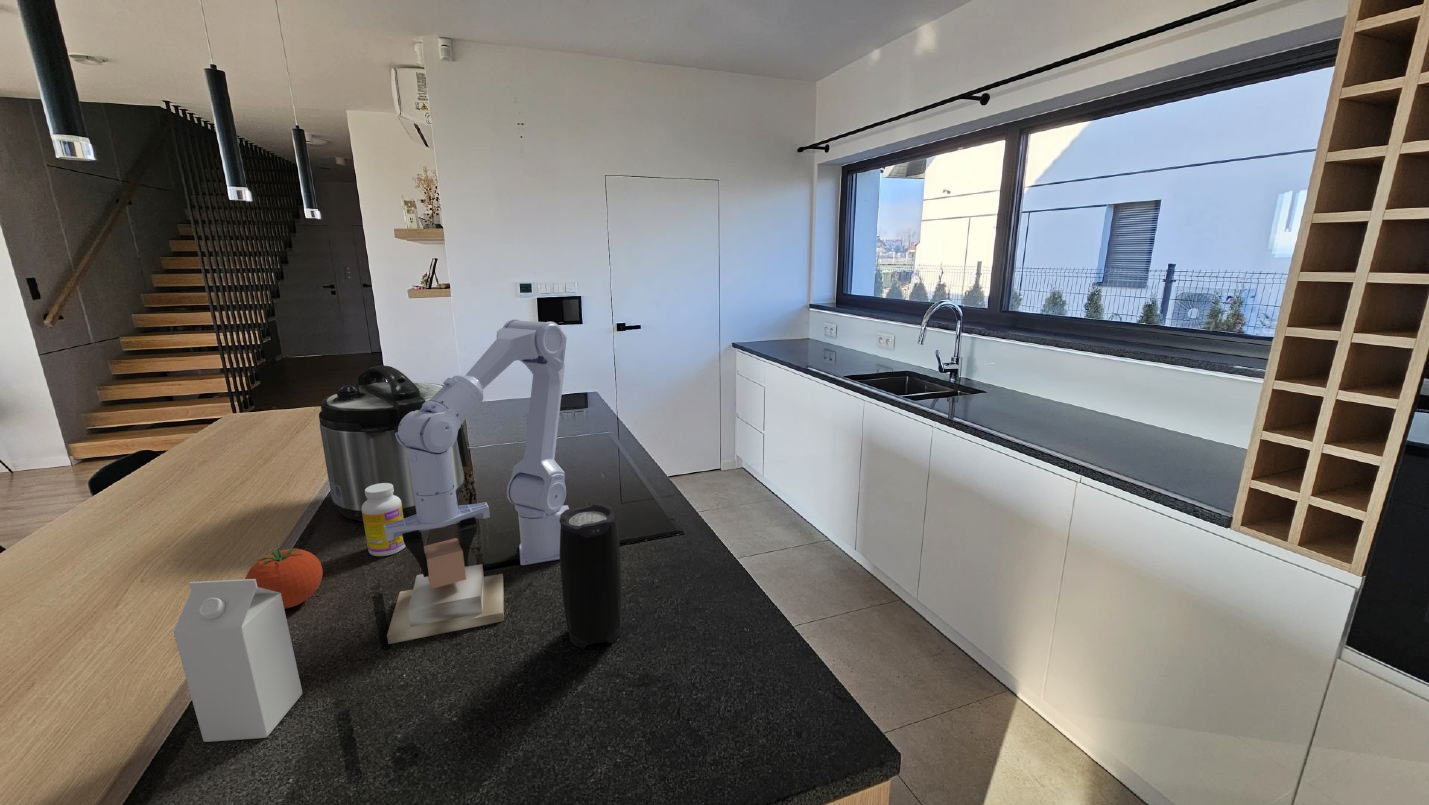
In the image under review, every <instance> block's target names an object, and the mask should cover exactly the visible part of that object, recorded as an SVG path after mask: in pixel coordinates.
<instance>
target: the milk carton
mask: <svg viewBox="0 0 1429 805" xmlns="http://www.w3.org/2000/svg"><path fill="white" fill-rule="evenodd" d="M188 584H189V587H190V593H189V594H188V597H187V600H186V602H185V604H184V607H183V608H182V611H181V613H180V614H179V615H180V616H179V618H178V621H177V623H176V625H175V627H174V629H173V635H174V639H175V642H176V647H177V650H178V654H179V656H180V661H181V664H182V669H183V671H184V672H183V673H184V676H185V679H186V683H187V685H188V689H189V694H190V698H191V701H192V705H193V708H194V711H195V716H196V719H197V722H198V726H199V730H200V733H201V737H202V741H203V742H205V743H207V742H209V743H210V742H211V743H212V742H223V741H225V742H226V741H237V740H252V739H265V738H268V737H269V735H270V734H271V733H272V732H273V730H274V729H275V728H276V727H277V726H278V724H279V723H280V722H281V721H282V720H283V719H284V717H285V716H286V715H287V714H288V712H289V711H290V710H291V709H292V707H293V706H294V705H295V704H296V703H297V701H298V700H299V699H300V698H301V696H302V695H303V688H302V685H301V680H300V675H299V671H298V665H297V662H296V657H295V653H294V648H293V642H292V638H291V634H290V630H289V629H290V628H289V625H288V620H287V616H286V611H285V609H284V606H283V601H282V596H281V593H279V592H275V591H271V590H267V589H262V588H258V587H257V583H256V579H245V578H244V579H228V580H225V579H224V580H209V581H206V580H205V581H204V580H203V581H190V582H189V583H188Z"/></svg>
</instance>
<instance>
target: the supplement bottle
mask: <svg viewBox="0 0 1429 805" xmlns="http://www.w3.org/2000/svg"><path fill="white" fill-rule="evenodd" d="M393 492H394V488H393V485H392V484H390V483H380V484H375V485H371V486H369V487H367V488H366V489H365V496H366V497H367V501H365V502H364V503H363V505H362V515H363V521H362V522H363V526H364V532H365V533H364V534H365V538H366V546H367V550H368V553H369V554H370V555H371V556H374V557H375V556H376V557H387V556H391V555H394V554H397V553H398V552H400V551H401V552H402V550H403V549H405V548H406V546H405V544H404V541H403V537H402V536H400V537H395V539H394V540H391V541H387V540H386V535H385V528H384V524H389V523H392V522H396V521H399V520H402V519H404V518H403V510H402V503H401V500H400V498H399V497H397V496H395V495H393Z"/></svg>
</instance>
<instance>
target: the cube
mask: <svg viewBox="0 0 1429 805" xmlns="http://www.w3.org/2000/svg"><path fill="white" fill-rule="evenodd" d="M424 552H425V560H426V564H427V568H428V574H429V576H428V580H429V583H430V586H431V589H434V588H437V587H441V586H444V585H448V584H451V583H455V582H458V581H462V580H466V574H465V567H466V566H464V558H463V550H462V548H461V546H460V544H459V538H458V537H455V538H450V539H447V540H444V541H439V542H435V543H431V544H427V545H424Z"/></svg>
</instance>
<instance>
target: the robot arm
mask: <svg viewBox="0 0 1429 805" xmlns="http://www.w3.org/2000/svg"><path fill="white" fill-rule="evenodd" d="M567 338H568V337H567V335H566V334H565V333H564V331H563V329H562V328H561V327H560V326H559V324H558V323H557V322H554V321H546V322H545V321H532V320H530V321H529V320H520V319H510V320H508V321H506V322H505V323H504V325H503V327H501V328H499V329H498V330H497V331H496V339H495V340H494V341H493V343H492V344H491V345H490V346H489V347H488V348H487V350H485V352H484V353H483V354H482V356H481V357H479V359H477V361H476V362H475V364H473V365H472V367H471V368H470V369H468V370H469V371H468V372H467V373H466V374H465V375H461V374H459V375H454V376H452V377H447V378H446V379H445V380H444V381H443V382H442V383H443V384H442V385H444V386H443V387H442V388H441V389H440V390H439V391H438V392H437V393H436V394H435V395H434V396H433V397H432V398H431V399H430V400H429V401H426V402H425V403H424V404H423V405H422V406H423V407H422V408H421V409H420V410H416V411H412V412H410V413H408V414H407V415H406V416H405V417H404V418H403V419H402V420H401V422H400V424H399V427H398V432H397V433H395V436H396V439H397V441H398V442H399V444H401V445H402V446H403V447H404V448H405V450H406V456H407V457H408V459H409V465H410V472H411V479H412V486H413V492H414V499H415V506H416V513H417V514H416V515H413V516H410V517H407V518H404V519H402V520H399V521H396V522H392V523H389V524H384V528H385V535H386V540H387V541H391V540H394V539H395V537H400V536H402V537H403V541H404V544H405V548H407V550H408V551H409V552H410V553H411V554H412V556H413V557H414V558H415V560H416V561H417V563H418V564H419V568H420V570H421V573H422V574H423V576H424V577H428V576H429V574H428V568H427V564H426V560H425V552H424V546H425V545H424V540H423V536H422V533H421V532H424V531H430V530H434V529H440V528H445V527H447V526H450V525H451V526H452V525H455V526H456V529H457V530H456V531H457V536H458V542H459V544H460V546H461V548H462V550H463V558H464V566H465V567H468V565H469V564H468V563H469V555H470V550H471V546H472V544H473V541H474V538H475V535H476V533H477V531H478V523H477V519H482V520H483V519H488V518H490V517H491V516H490V515H491V514H490V507H489V505H488V502H480V503H472V504H463V505H458V500H457V497H456V490H455V482H454V474H453V466H452V459H451V451H450V447H451V446H453V445H454V443H455V441H456V439H457V434H458V430H459V428H460V427H461V424H462V422H463V423H464V421H465V420H466V419H467V418H468V417H469V416H470V415H471V414H472V413H473V412H474V411H475V409H476V408H477V407H478V406H479V405H480V404H481V403H482V402H483V400H484V389H485V388H487V387H488V385H490V384H491V383H492V382H494V380H495V379H496V378H497V377H498V376H500V375H501V374H502V373H503V372H504V371H505V370H506V369H507V368H509V367H510V365H512V364H513V363H514V362H515V361H520V362H521V363H522V364H524V365H525V366H526V367H527V369H528V370H529V371H530V372H531V373H532V380H531V391H530V392H531V393H530V400H529V410H528V416H527V417H528V418H527V428H526V435H525V436H526V437H525V444H524V445H525V446H524V454H523V458H522V459H521V460H520V461H518V462H517V463H516V464H515V465H514V466H513V467H512V473H511V477H510V479H509V481H508V484H507V486H506V497H507V500H508V502H510V503H511V504H512V505H514V510H515V511H517V514H518V526H519V536H520V544H519V546H518V548H519V562H520V565H521V566H528V565H534V564H539V563H545V562H549V561H550V562H551V561H556V560H560V529H561V523H560V515H561V514H562V513H563V512H564V511H565V510H567V509H570V508H569V505H568V504H567V505H564V503H565V501H566V498H567V488H566V482H565V476H566V474H565V471H564V470H563V469H562V468H561V467H560V465H559V464H558V463H557V462H556V460H555V459H556V458H555V456H556V448H557V439H558V431H559V430H558V428H559V422H560V421H559V420H560V411H561V401H562V394H563V384H564V376H565V358H566V356H565V355H566V349H567Z"/></svg>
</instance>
